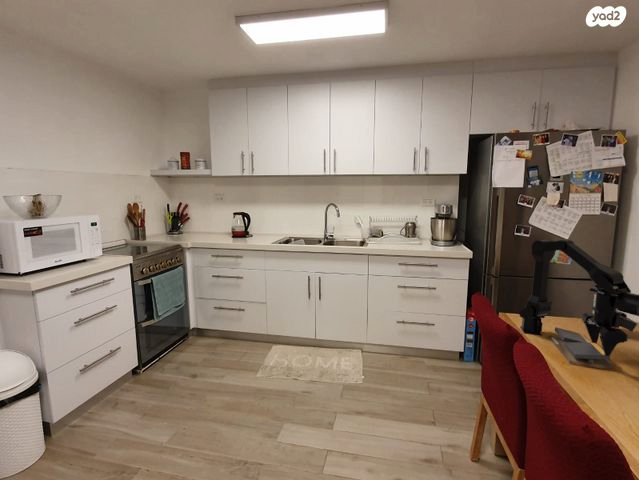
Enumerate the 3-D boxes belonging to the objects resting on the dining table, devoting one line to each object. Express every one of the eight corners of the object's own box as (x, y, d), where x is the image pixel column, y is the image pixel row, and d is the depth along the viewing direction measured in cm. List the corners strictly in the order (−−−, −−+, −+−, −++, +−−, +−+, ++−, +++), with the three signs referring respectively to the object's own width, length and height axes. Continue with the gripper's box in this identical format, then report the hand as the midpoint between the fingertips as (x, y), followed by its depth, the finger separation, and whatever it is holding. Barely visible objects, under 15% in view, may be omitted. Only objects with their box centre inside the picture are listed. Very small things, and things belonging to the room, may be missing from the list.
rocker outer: (574, 358, 116) (574, 354, 116) (564, 345, 126) (564, 341, 125) (610, 359, 113) (610, 355, 113) (596, 346, 122) (596, 342, 122)
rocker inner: (563, 340, 126) (564, 337, 126) (554, 330, 136) (555, 326, 135) (594, 348, 123) (595, 345, 123) (582, 337, 133) (584, 334, 133)
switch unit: (569, 363, 117) (569, 357, 116) (548, 337, 137) (549, 332, 137) (615, 370, 112) (615, 363, 112) (586, 342, 133) (587, 336, 133)
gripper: (651, 319, 104) (645, 366, 106) (620, 300, 122) (615, 341, 124) (607, 315, 108) (602, 360, 110) (583, 297, 125) (579, 337, 127)
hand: (600, 349), depth 118 cm, fingers open, 9 cm apart
